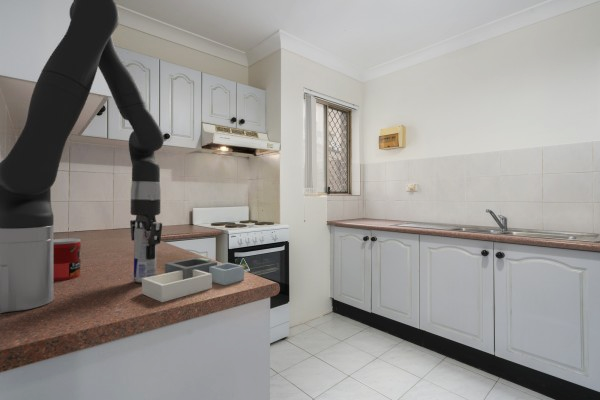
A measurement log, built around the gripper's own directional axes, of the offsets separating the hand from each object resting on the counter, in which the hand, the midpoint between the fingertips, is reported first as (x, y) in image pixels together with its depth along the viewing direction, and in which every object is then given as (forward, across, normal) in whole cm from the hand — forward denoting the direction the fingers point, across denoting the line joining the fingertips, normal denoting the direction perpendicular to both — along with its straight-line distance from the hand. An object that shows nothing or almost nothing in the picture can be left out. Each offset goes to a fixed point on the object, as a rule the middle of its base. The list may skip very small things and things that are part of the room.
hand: (145, 257), depth 85 cm
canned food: (+7, -22, -13) cm, 26 cm away
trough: (+7, +15, +1) cm, 16 cm away
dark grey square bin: (+7, +7, +10) cm, 14 cm away
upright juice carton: (+7, 0, 0) cm, 7 cm away
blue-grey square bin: (+7, +17, +15) cm, 24 cm away
